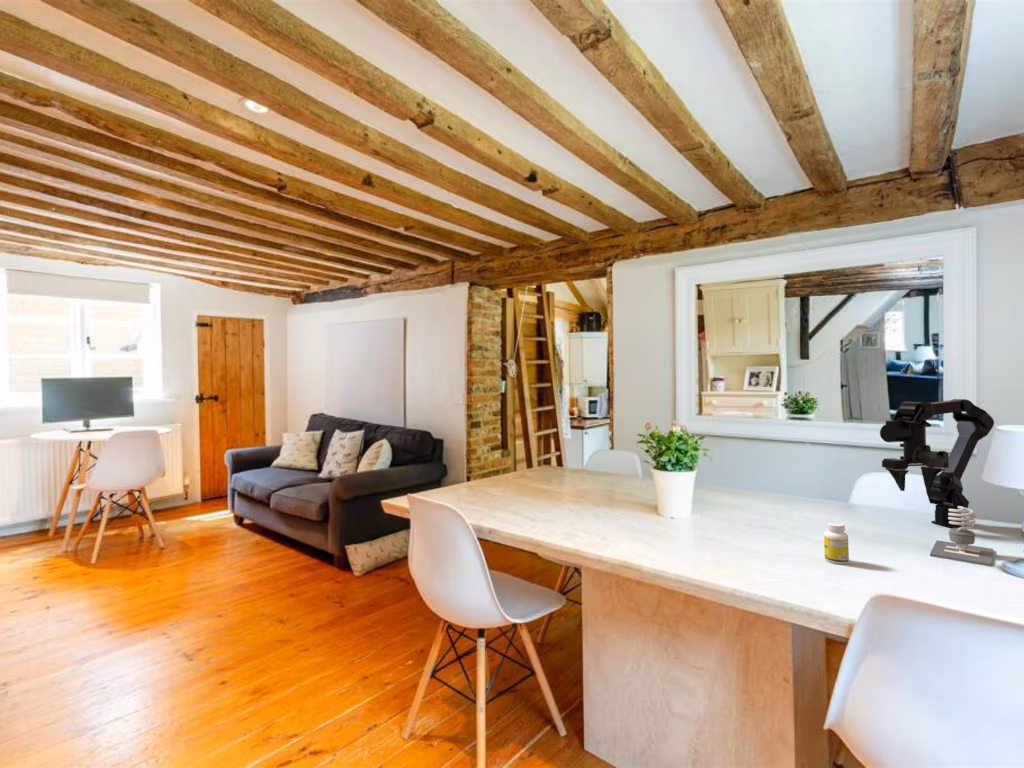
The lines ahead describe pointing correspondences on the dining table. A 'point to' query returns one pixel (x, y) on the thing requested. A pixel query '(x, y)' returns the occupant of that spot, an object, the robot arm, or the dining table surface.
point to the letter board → (962, 553)
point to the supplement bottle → (836, 544)
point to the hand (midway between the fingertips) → (915, 490)
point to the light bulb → (962, 534)
